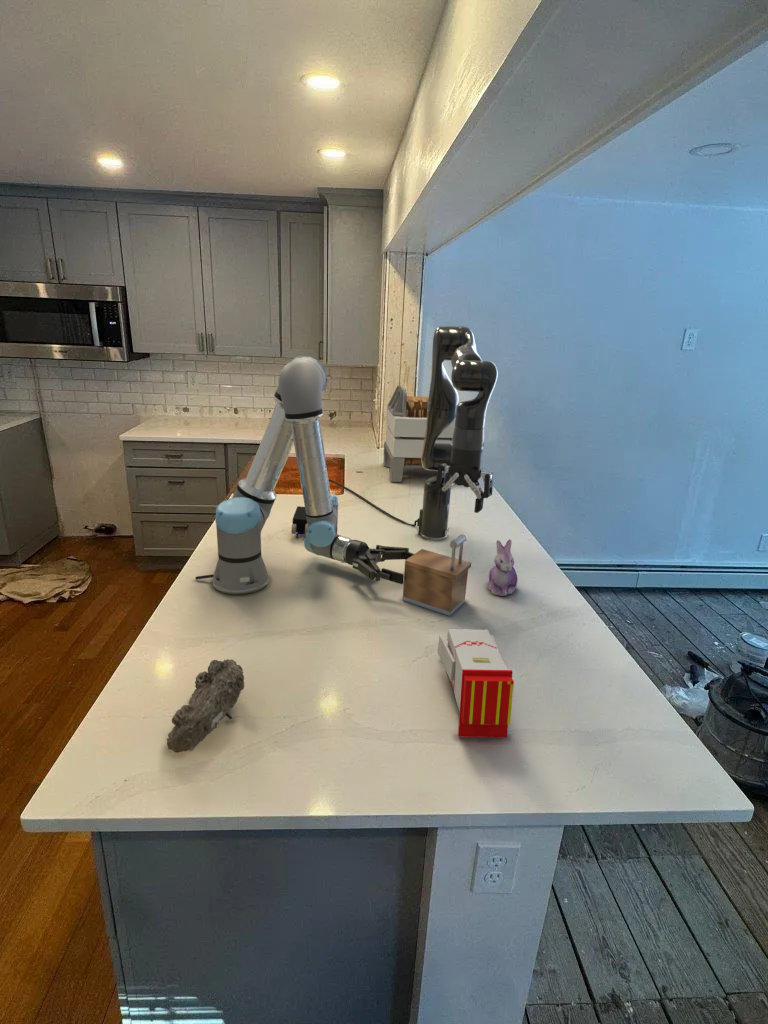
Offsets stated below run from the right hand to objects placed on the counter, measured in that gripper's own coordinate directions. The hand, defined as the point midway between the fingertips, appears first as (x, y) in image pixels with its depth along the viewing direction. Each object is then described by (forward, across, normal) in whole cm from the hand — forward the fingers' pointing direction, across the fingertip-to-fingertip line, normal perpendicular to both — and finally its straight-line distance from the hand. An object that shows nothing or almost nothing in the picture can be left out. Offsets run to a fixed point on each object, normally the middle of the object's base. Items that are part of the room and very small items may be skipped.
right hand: (461, 508), depth 143 cm
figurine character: (+28, -65, +16) cm, 72 cm away
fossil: (+28, -19, -66) cm, 74 cm away
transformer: (+28, -70, +110) cm, 133 cm away
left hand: (+21, -13, +1) cm, 25 cm away
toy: (+28, +18, -31) cm, 46 cm away
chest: (+28, -6, 0) cm, 29 cm away
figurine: (+28, +7, +18) cm, 34 cm away
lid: (+17, -5, 0) cm, 18 cm away
